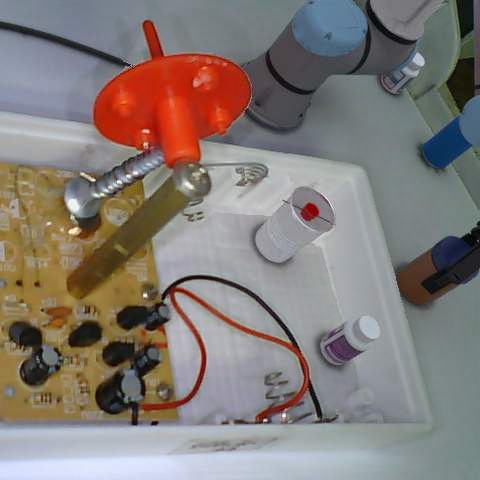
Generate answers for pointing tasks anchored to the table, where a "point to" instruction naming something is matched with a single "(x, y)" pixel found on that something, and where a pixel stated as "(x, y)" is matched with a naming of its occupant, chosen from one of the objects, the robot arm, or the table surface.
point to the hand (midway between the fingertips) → (437, 271)
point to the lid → (450, 253)
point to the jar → (420, 280)
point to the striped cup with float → (295, 224)
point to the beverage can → (446, 145)
